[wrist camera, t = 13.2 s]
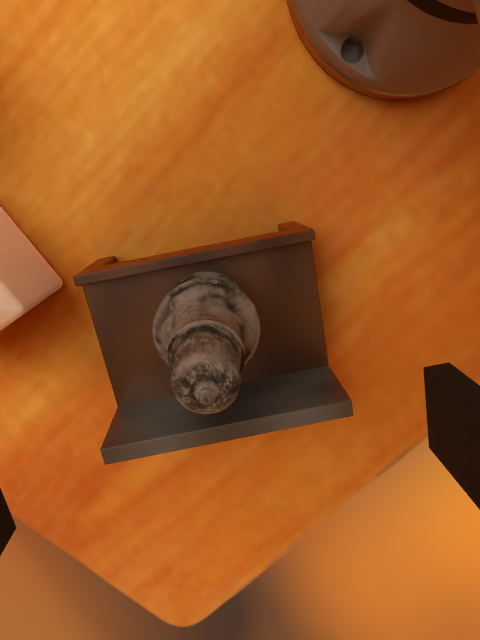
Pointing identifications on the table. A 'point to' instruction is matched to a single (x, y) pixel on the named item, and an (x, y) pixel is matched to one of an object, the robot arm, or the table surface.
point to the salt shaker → (206, 339)
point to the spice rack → (256, 376)
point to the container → (21, 273)
